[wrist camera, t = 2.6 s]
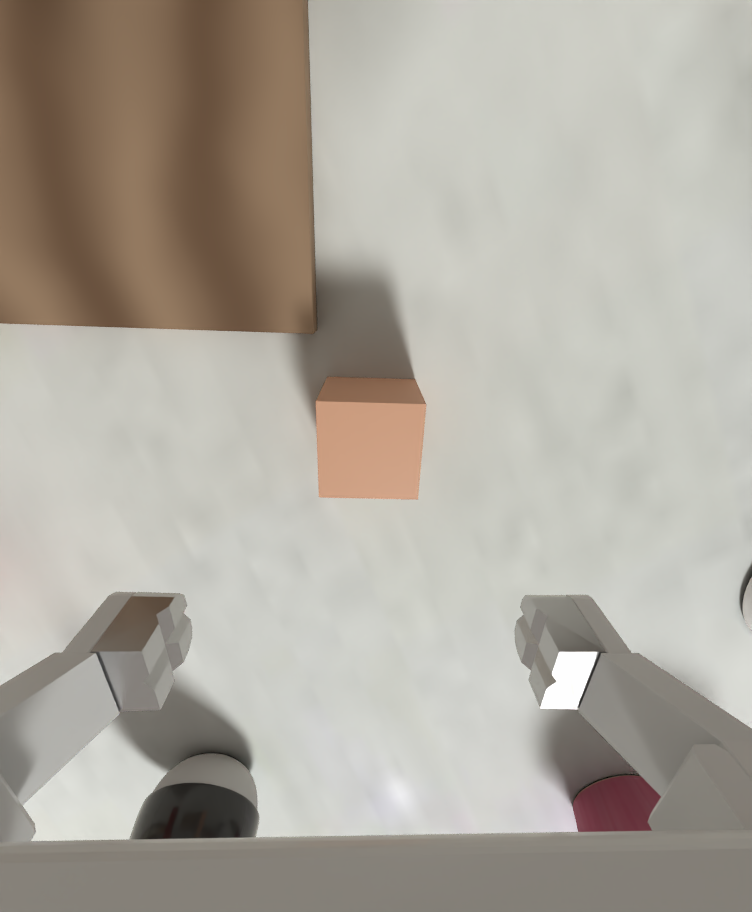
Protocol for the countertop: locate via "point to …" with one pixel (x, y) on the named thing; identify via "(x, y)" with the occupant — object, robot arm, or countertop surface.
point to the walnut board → (157, 165)
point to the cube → (369, 438)
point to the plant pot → (615, 805)
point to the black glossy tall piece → (201, 802)
